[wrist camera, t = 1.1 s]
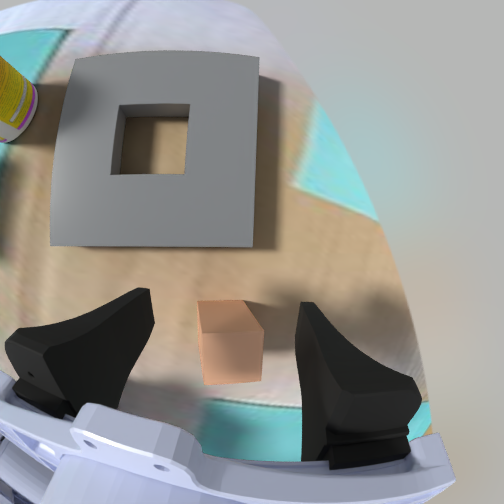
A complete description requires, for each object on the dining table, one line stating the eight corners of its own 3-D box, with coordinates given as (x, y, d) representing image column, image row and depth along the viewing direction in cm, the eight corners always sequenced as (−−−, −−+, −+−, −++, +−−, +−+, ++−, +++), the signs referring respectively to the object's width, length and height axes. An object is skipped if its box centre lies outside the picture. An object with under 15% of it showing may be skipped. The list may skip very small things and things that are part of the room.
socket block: (244, 243, 24) (252, 247, 21) (65, 242, 20) (50, 246, 17) (251, 72, 22) (259, 57, 19) (85, 73, 18) (75, 59, 15)
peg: (241, 340, 25) (261, 380, 18) (198, 342, 24) (204, 385, 17) (242, 299, 24) (264, 330, 18) (197, 300, 23) (202, 333, 17)
